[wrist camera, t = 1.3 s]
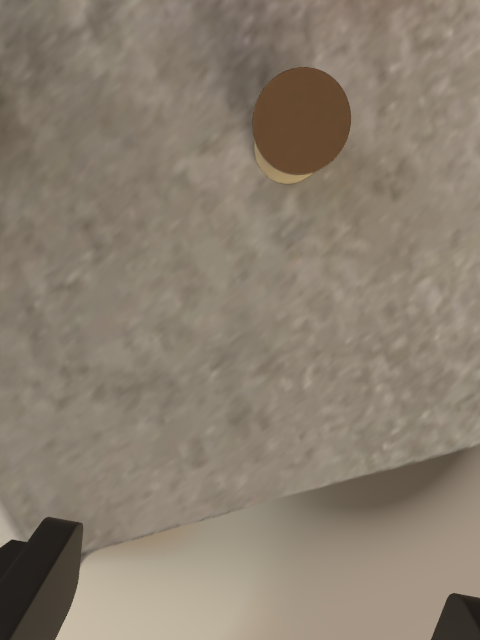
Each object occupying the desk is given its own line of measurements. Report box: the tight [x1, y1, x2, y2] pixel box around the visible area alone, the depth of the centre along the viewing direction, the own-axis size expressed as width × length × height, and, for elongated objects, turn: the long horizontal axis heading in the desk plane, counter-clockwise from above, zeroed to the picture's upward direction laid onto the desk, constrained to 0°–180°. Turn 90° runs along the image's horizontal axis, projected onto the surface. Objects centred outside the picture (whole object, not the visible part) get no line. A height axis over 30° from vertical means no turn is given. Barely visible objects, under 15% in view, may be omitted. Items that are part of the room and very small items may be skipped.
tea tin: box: [253, 67, 351, 184], centre depth 26 cm, size 5×5×9 cm
